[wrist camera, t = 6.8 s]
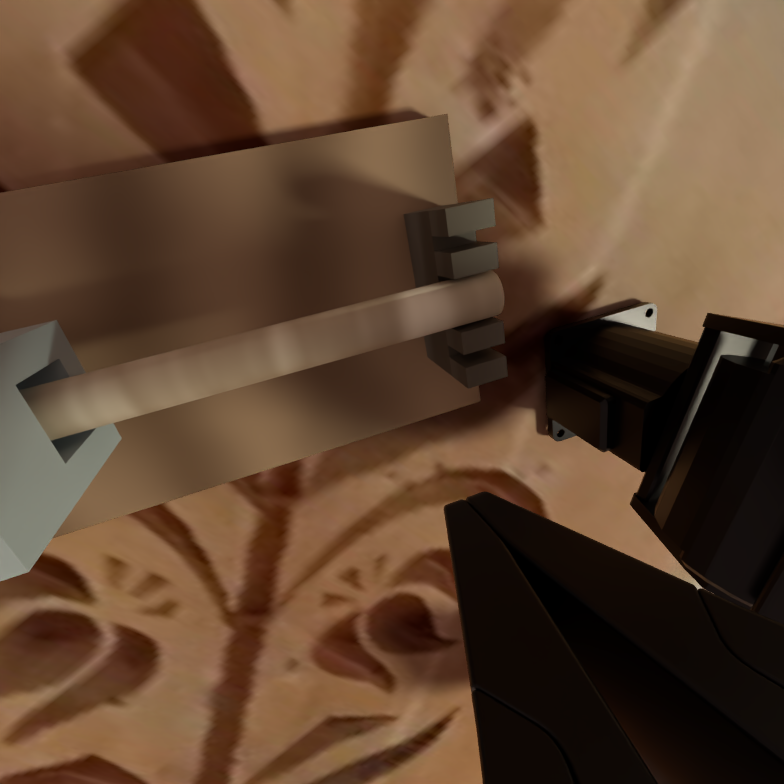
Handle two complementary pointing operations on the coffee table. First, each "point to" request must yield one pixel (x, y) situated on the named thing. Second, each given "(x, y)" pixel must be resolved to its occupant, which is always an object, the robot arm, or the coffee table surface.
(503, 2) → the coffee table surface
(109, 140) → the coffee table surface
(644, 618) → the robot arm
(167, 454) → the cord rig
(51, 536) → the sleeve
